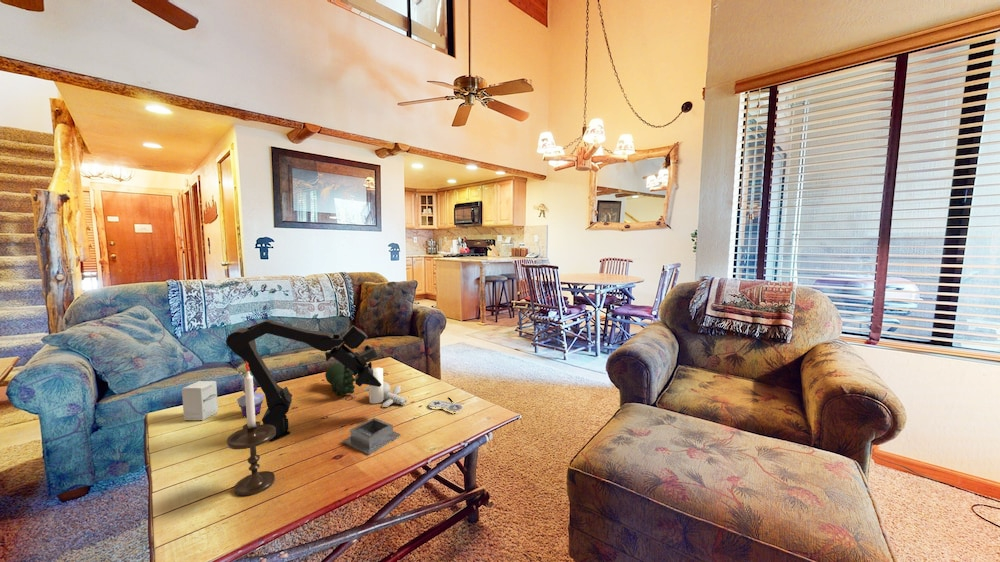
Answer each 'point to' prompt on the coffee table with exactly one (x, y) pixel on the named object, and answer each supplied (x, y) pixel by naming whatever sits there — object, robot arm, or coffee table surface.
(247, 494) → the candlestick
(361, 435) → the metal roll holder
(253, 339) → the robot arm
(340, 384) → the toy figurine
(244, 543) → the coffee table surface
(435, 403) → the game controller
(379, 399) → the white round cylinder
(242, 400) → the potion bottle
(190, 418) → the supplement box
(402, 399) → the toy creature
